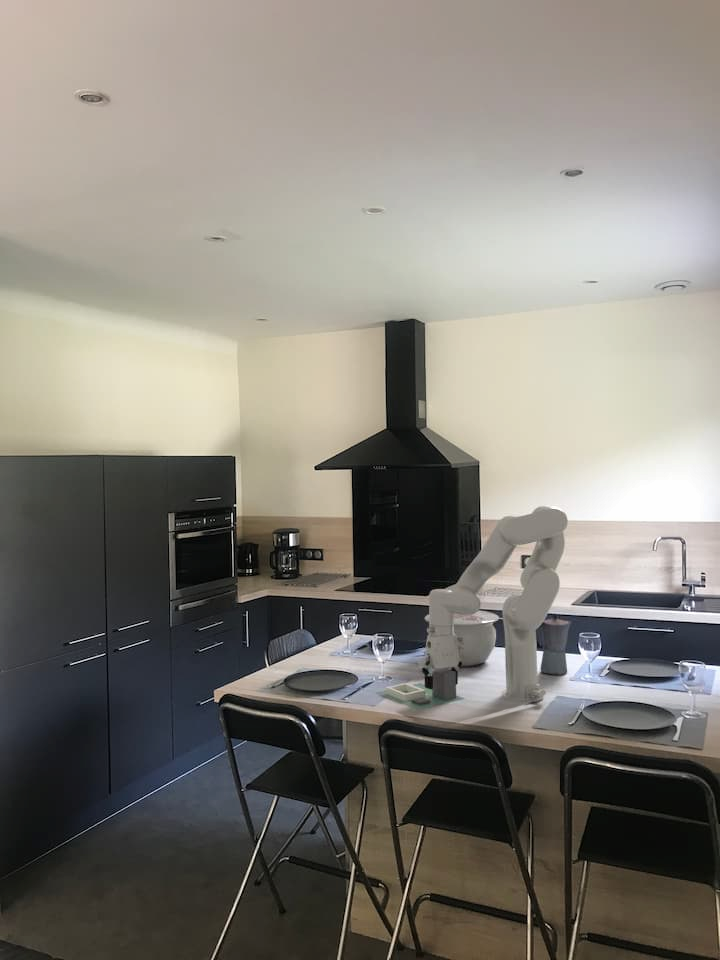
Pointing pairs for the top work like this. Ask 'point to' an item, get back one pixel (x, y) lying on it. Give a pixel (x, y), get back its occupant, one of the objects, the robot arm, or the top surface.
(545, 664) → the moka pot
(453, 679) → the plug
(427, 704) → the board
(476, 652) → the chamber pot
